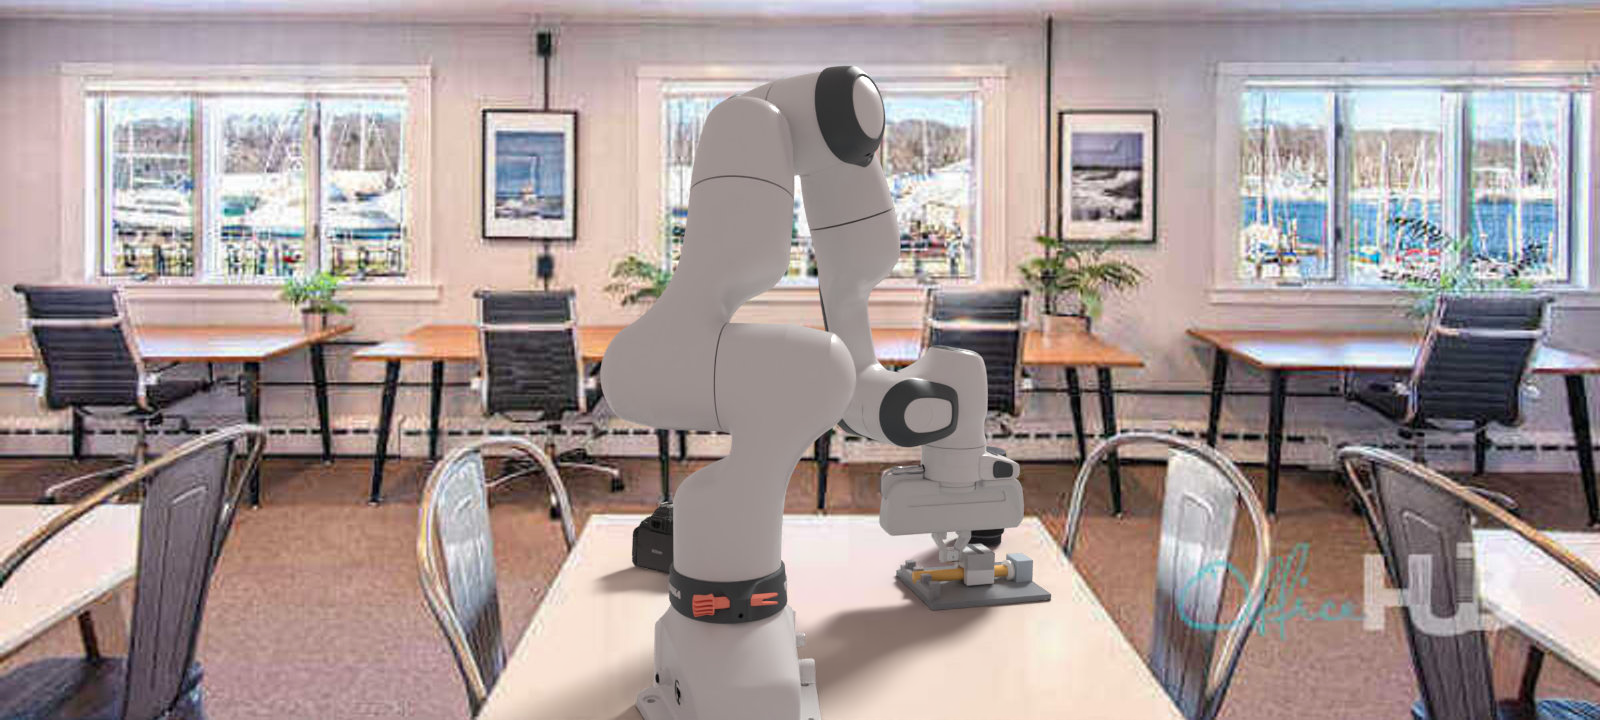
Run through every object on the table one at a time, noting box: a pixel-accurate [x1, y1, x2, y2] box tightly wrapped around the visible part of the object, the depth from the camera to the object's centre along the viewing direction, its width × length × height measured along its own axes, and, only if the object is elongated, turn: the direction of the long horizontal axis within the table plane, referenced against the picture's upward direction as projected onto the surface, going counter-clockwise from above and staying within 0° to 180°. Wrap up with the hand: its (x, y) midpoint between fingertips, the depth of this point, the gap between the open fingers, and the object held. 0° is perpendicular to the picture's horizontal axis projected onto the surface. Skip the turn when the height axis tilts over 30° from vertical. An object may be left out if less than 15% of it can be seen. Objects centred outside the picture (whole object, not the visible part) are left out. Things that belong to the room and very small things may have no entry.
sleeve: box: [954, 544, 996, 586], centre depth 131 cm, size 4×4×4 cm
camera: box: [631, 501, 674, 575], centre depth 138 cm, size 13×10×10 cm
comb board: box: [895, 552, 1052, 611], centre depth 131 cm, size 14×17×4 cm
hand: (950, 561), depth 130 cm, fingers closed
